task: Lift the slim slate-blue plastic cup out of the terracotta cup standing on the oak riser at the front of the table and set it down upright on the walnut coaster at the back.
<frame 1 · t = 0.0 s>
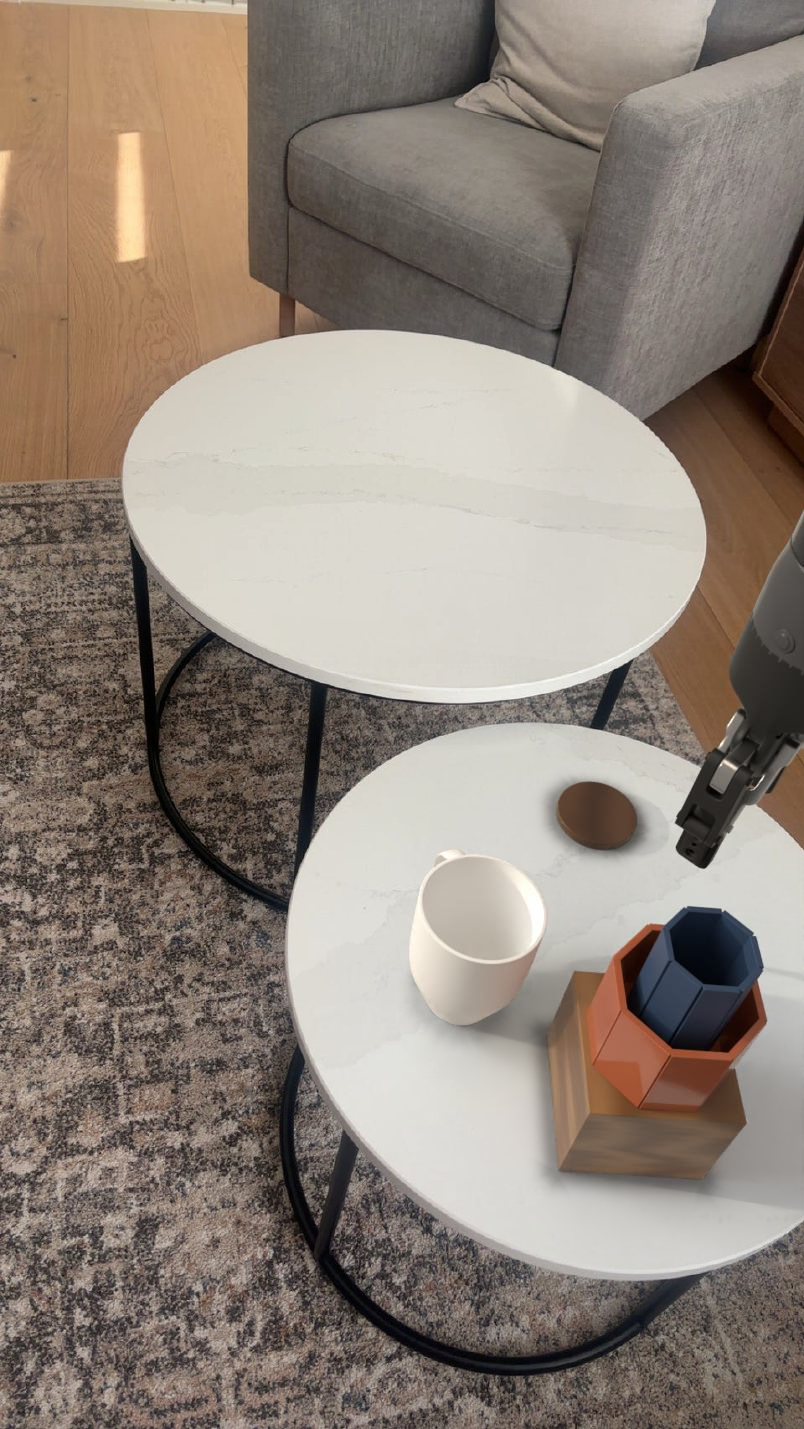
hand: (725, 819, 69), 21 cm above the table, tool pointing down, fingers open, 8 cm apart
riser: (621, 1103, 77), on the table
slate cup: (659, 1039, 70), point 10 cm above the table, touching terracotta cup
coaster: (595, 817, 95), on the table
mug: (451, 980, 83), on the table
terracotta cup: (656, 1043, 71), resting on riser
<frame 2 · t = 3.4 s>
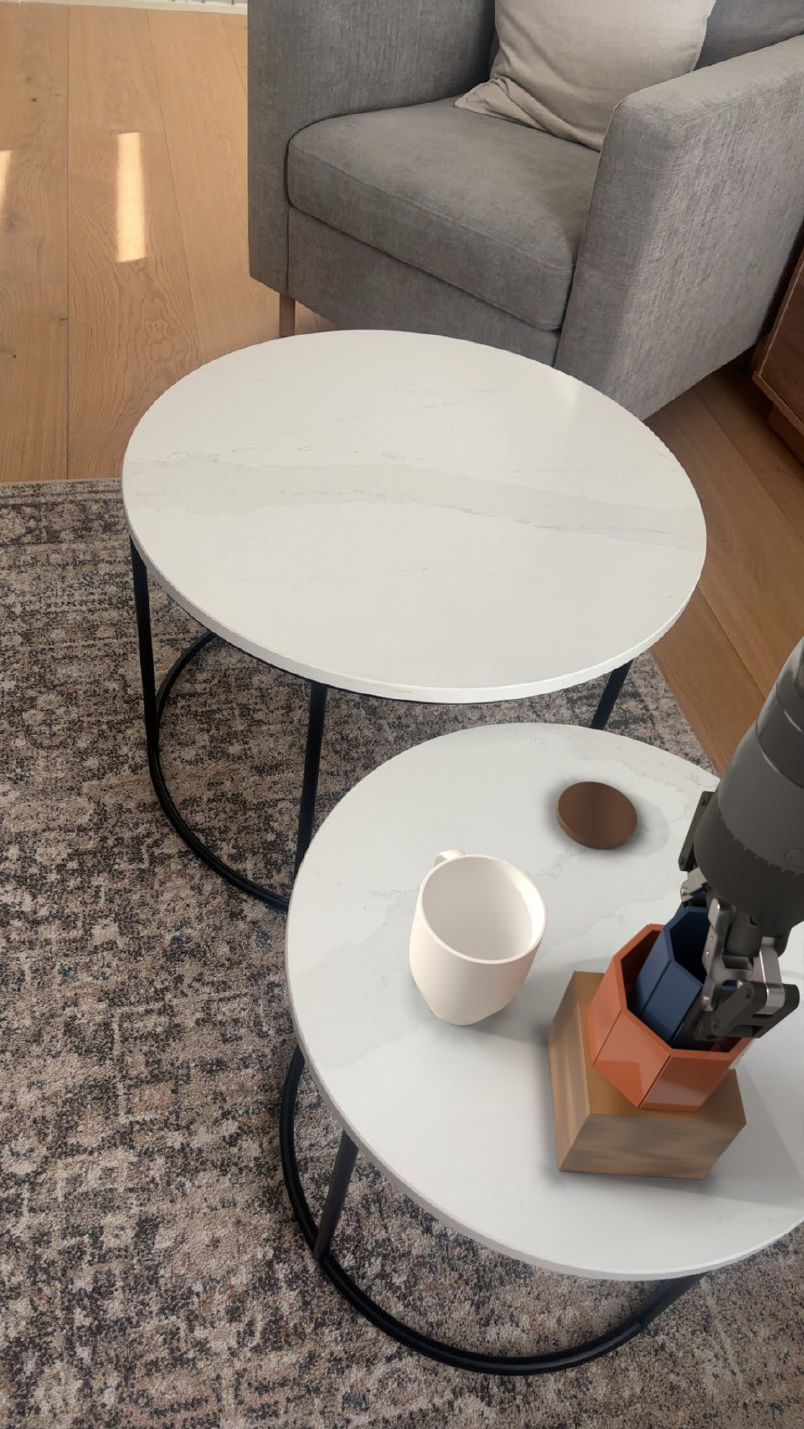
hand: (691, 983, 65), 17 cm above the table, tool pointing down, fingers closed on slate cup, 5 cm apart
slate cup: (659, 1039, 70), point 10 cm above the table, touching gripper, terracotta cup
everything else where it was.
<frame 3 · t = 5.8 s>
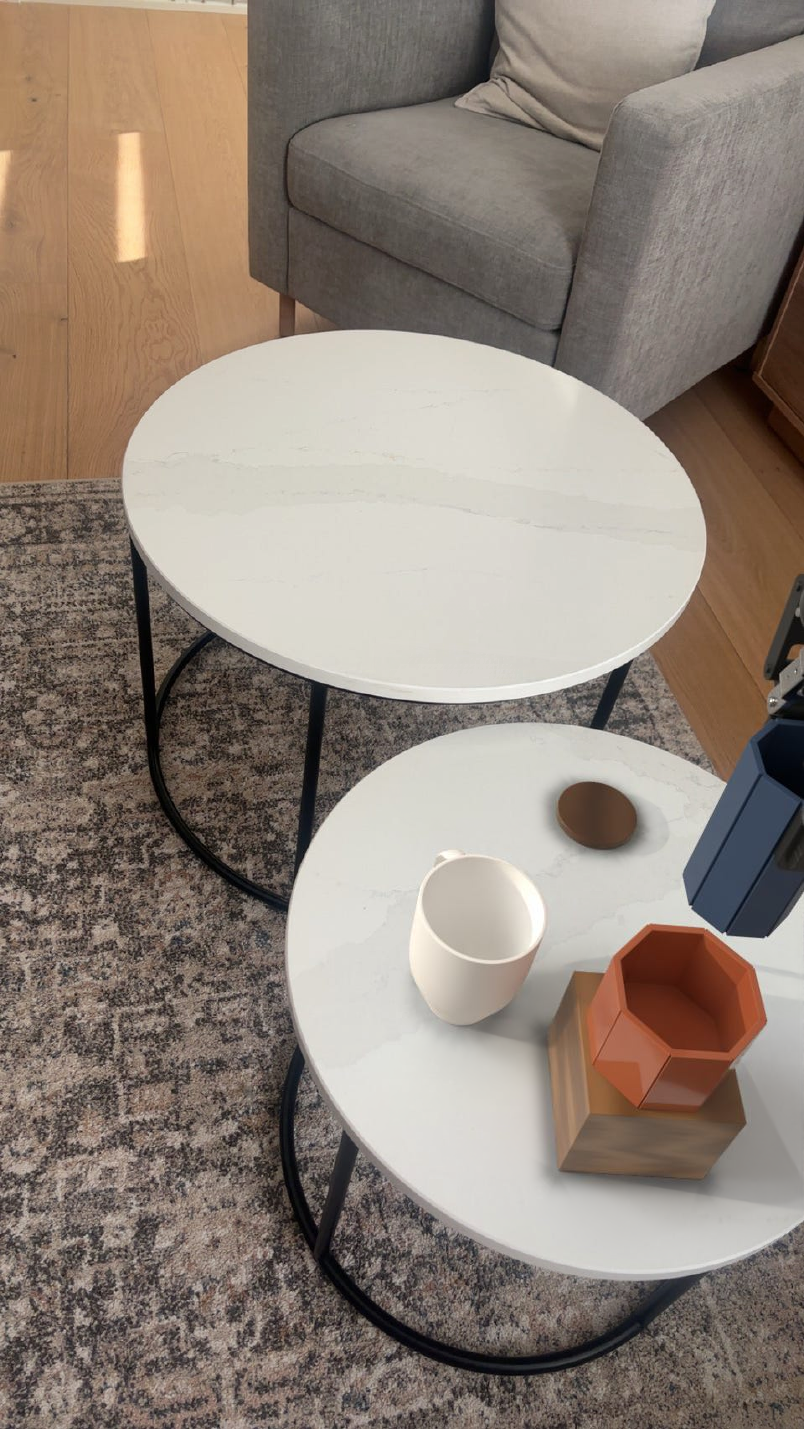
hand: (780, 814, 55), 32 cm above the table, tool pointing down, fingers closed on slate cup, 5 cm apart
slate cup: (734, 893, 60), point 25 cm above the table, touching gripper
everything else where it was.
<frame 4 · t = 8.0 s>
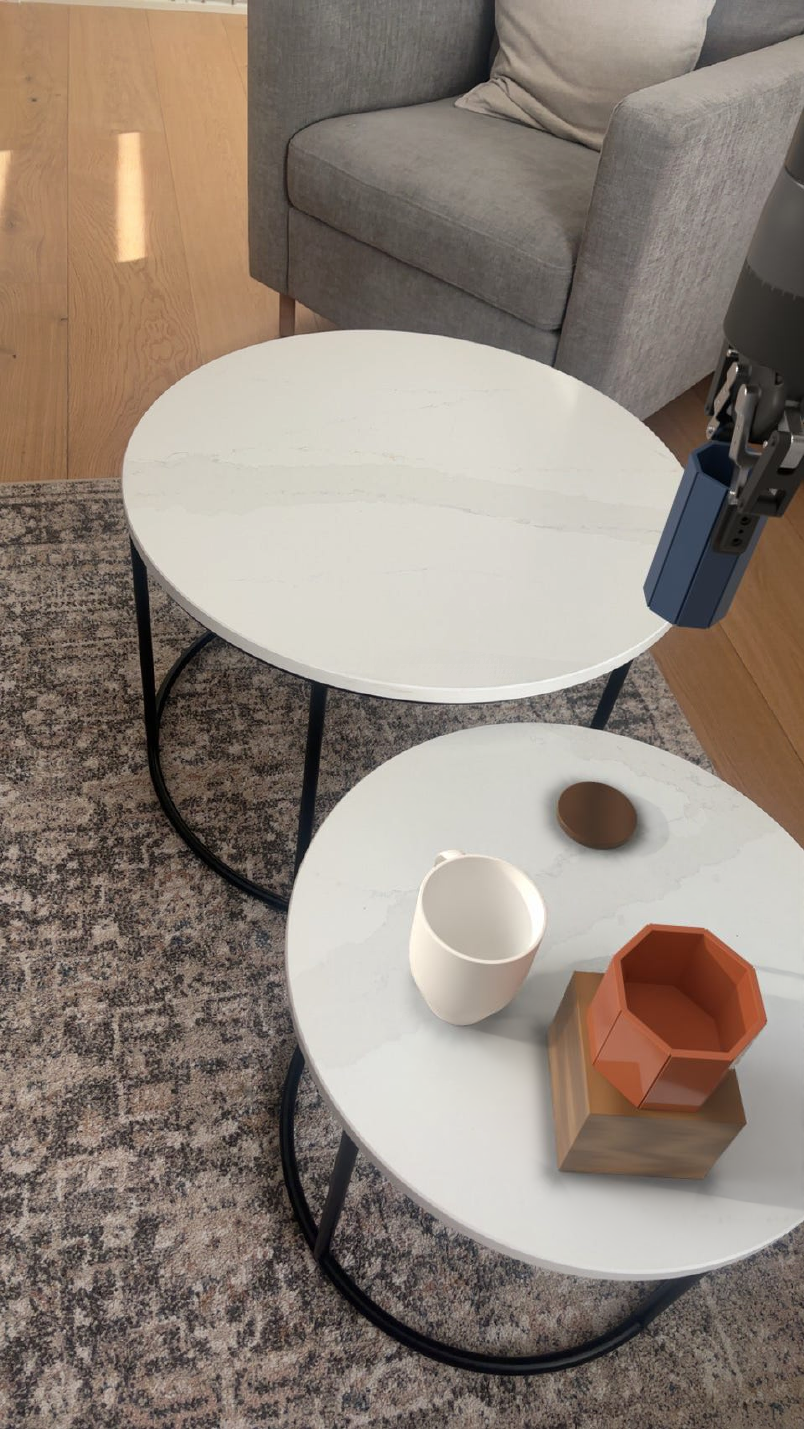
hand: (716, 520, 71), 33 cm above the table, tool pointing down, fingers closed on slate cup, 5 cm apart
slate cup: (684, 601, 76), point 26 cm above the table, touching gripper
everything else where it was.
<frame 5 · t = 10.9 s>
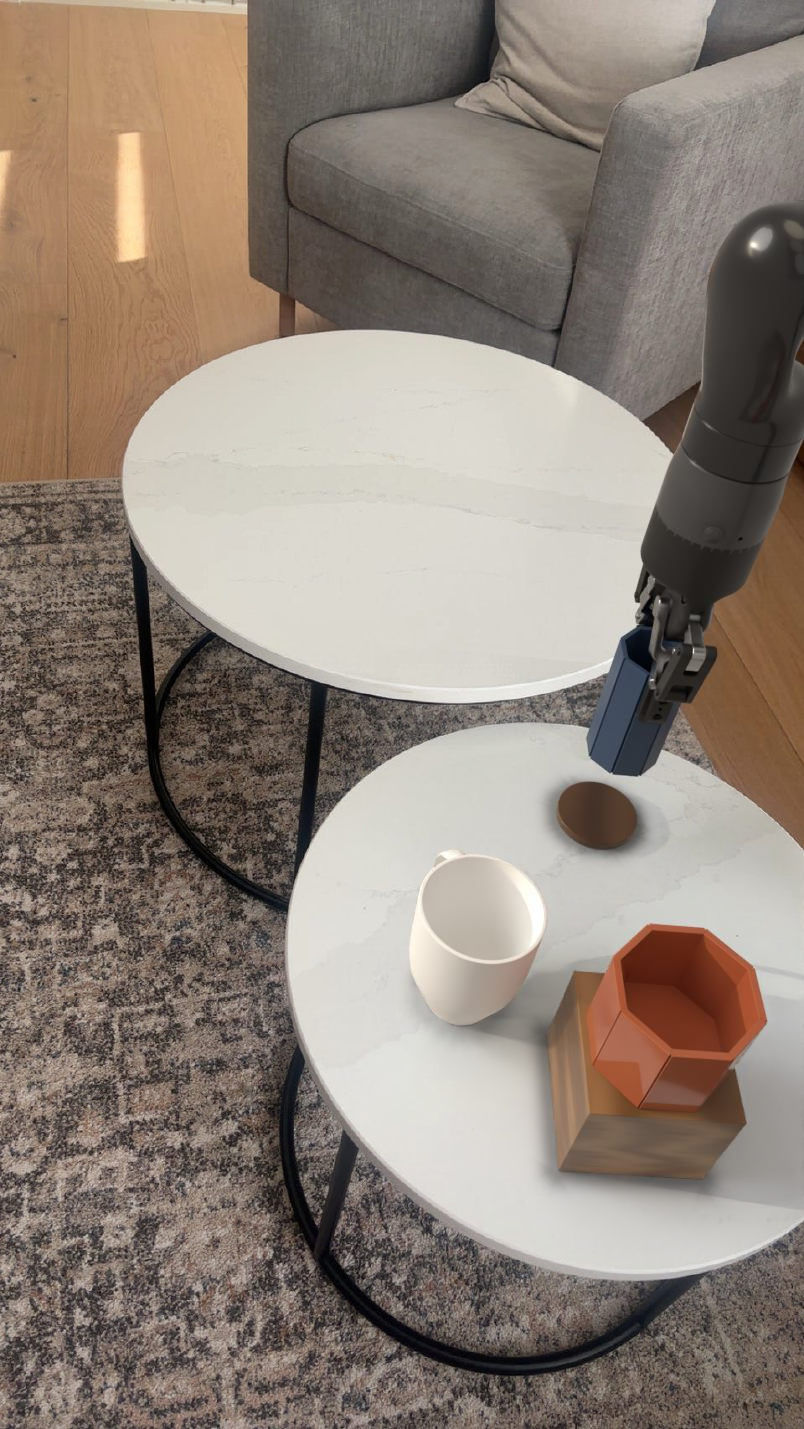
hand: (644, 690, 84), 16 cm above the table, tool pointing down, fingers closed on slate cup, 5 cm apart
slate cup: (620, 750, 89), point 9 cm above the table, touching gripper
everything else where it was.
when the fingers open (8 cm above the table, at t = 13.1 s): slate cup stays where it is, resting on coaster.
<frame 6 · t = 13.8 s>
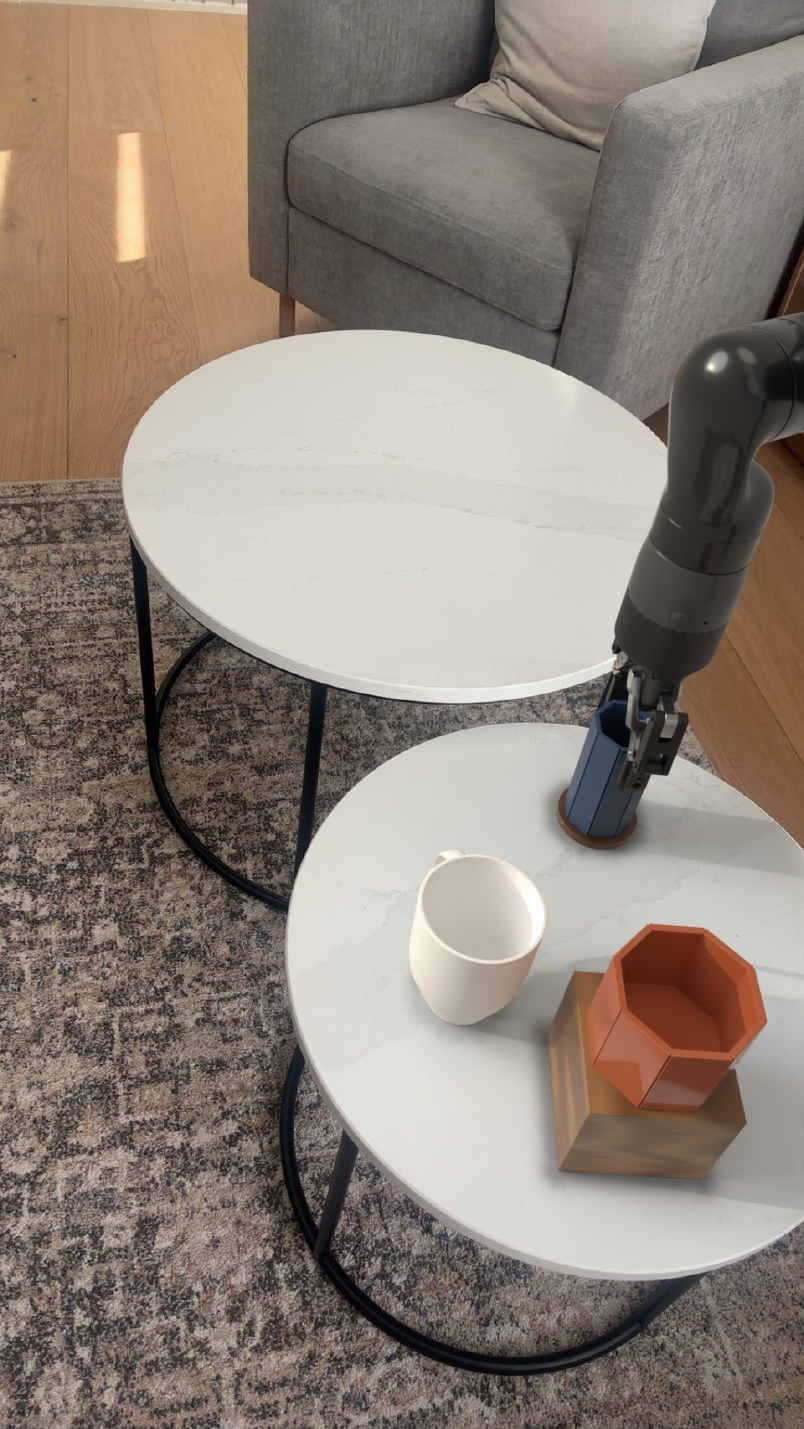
hand: (622, 747, 89), 9 cm above the table, tool pointing down, fingers open, 8 cm apart
slate cup: (597, 811, 95), point 1 cm above the table, touching coaster
everything else where it was.
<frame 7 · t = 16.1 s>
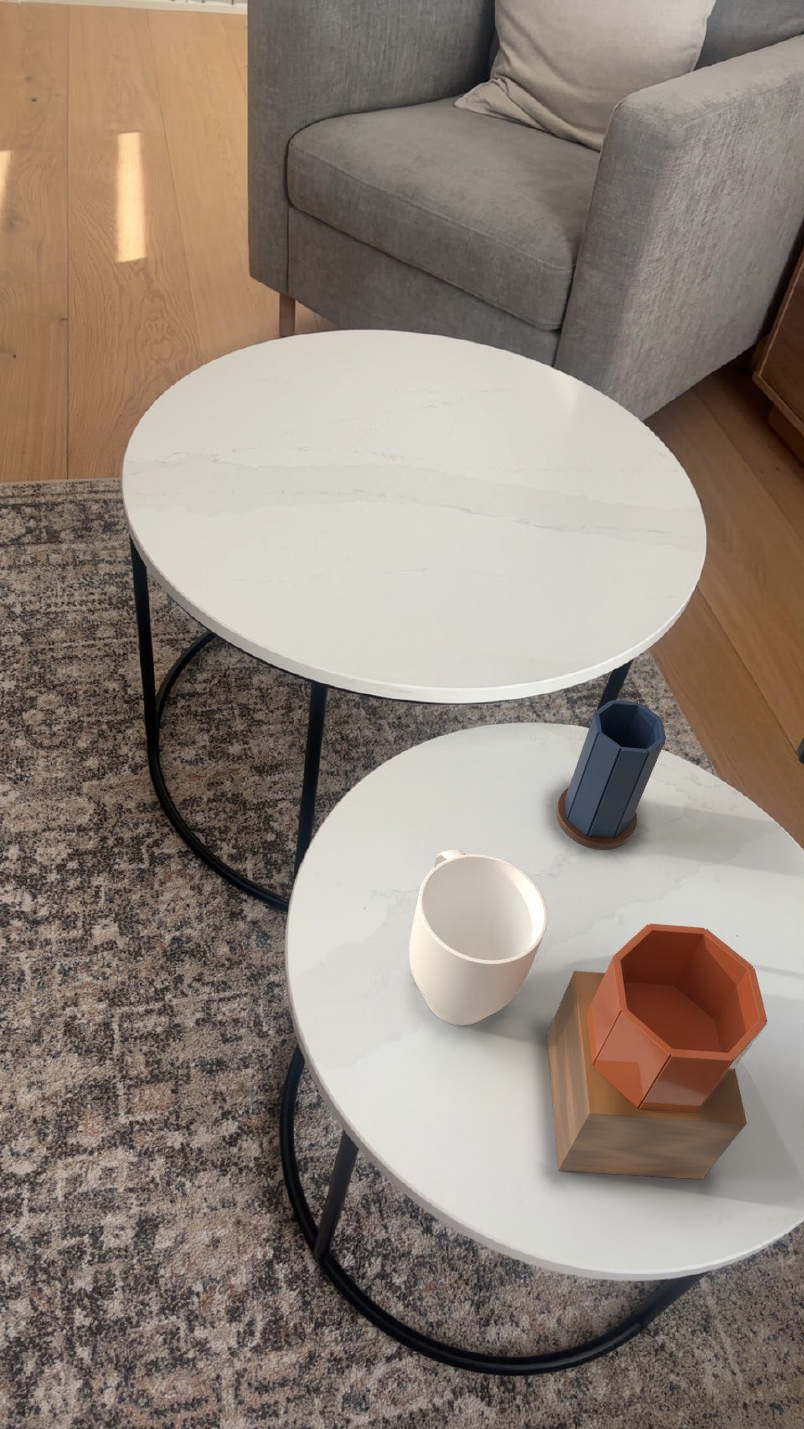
nothing on the table moved.
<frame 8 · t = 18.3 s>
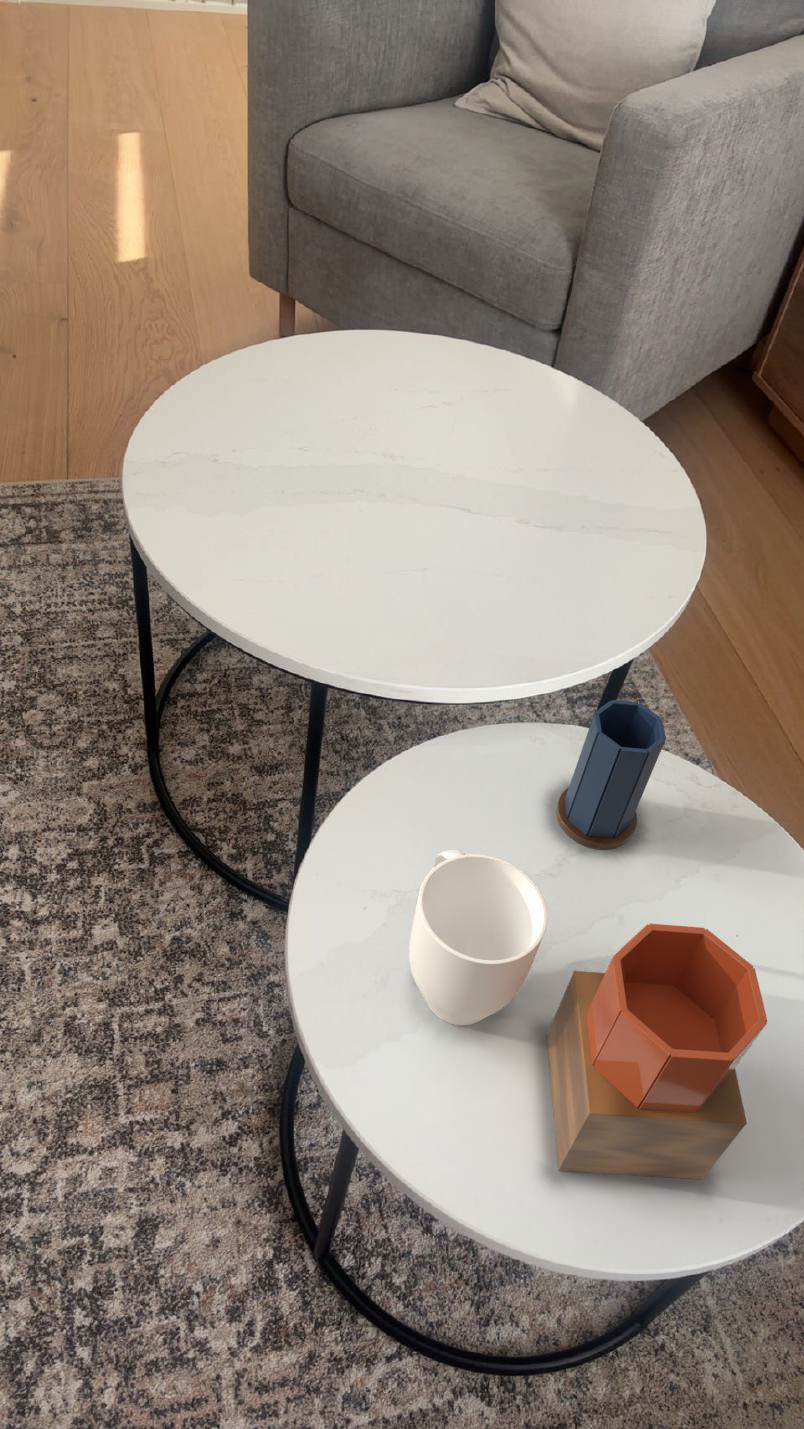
nothing on the table moved.
at the end: slate cup 0.0 cm off-centre on the coaster, point 0.8 cm above the coaster's base; slate cup tilted 0°; the gripper is holding nothing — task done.
